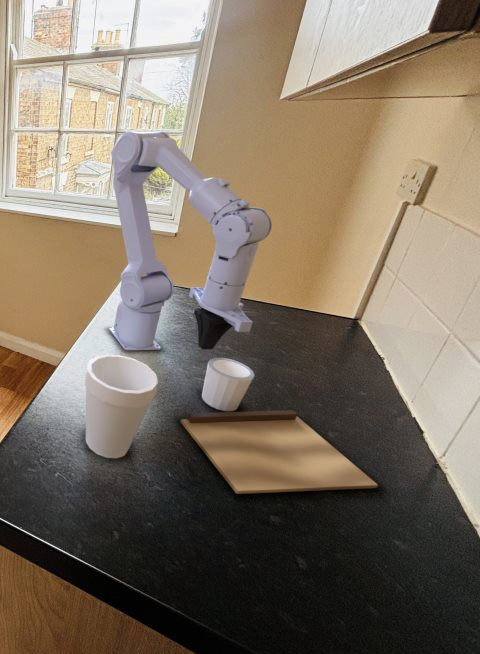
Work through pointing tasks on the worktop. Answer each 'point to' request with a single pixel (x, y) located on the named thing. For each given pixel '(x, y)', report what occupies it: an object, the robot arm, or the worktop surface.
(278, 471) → the board
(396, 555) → the worktop surface
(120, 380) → the foam cup
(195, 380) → the worktop surface
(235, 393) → the white faceted cup
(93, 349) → the worktop surface
